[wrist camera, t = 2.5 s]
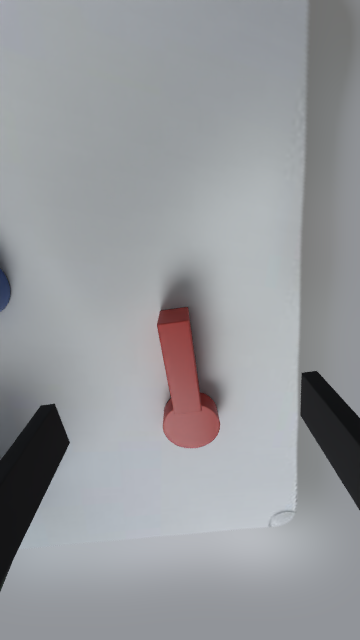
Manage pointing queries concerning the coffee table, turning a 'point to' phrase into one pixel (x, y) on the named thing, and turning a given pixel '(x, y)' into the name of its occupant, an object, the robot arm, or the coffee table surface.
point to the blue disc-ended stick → (4, 291)
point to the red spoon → (184, 385)
